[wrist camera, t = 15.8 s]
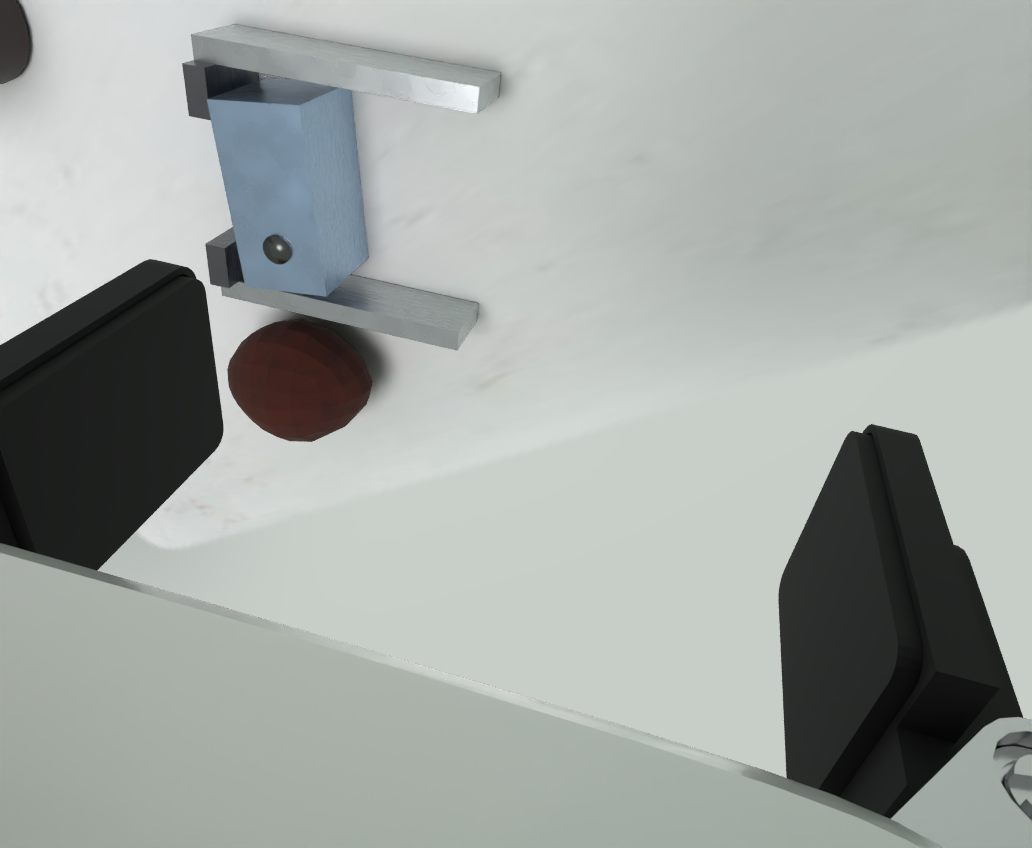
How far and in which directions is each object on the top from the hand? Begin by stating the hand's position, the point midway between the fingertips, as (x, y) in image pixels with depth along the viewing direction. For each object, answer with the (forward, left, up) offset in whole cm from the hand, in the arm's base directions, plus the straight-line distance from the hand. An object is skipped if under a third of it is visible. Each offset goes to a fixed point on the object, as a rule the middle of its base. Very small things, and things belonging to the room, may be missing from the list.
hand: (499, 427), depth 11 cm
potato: (+19, +21, -33) cm, 43 cm away
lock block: (+19, +9, -32) cm, 39 cm away
